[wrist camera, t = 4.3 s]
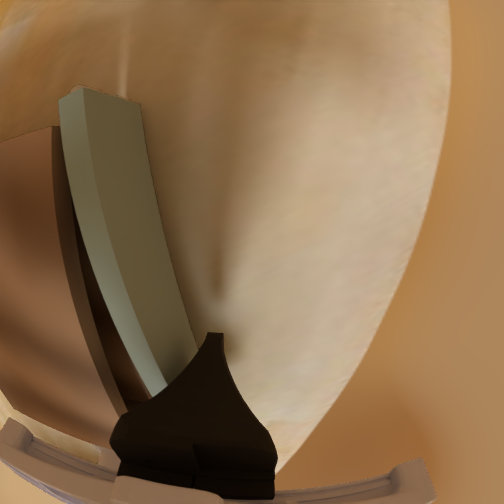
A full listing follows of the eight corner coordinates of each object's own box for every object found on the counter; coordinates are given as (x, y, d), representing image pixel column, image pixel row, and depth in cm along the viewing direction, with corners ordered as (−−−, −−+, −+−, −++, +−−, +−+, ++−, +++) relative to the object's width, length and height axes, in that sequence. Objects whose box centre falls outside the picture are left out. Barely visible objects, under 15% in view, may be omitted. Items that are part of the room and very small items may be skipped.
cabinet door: (238, 409, 16) (235, 466, 12) (206, 410, 17) (199, 465, 12) (164, 88, 10) (117, 60, 5) (119, 103, 10) (57, 88, 6)
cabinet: (157, 403, 17) (142, 457, 13) (39, 371, 17) (14, 408, 12) (118, 129, 11) (51, 126, 6) (-18, 160, 10) (-70, 175, 6)
